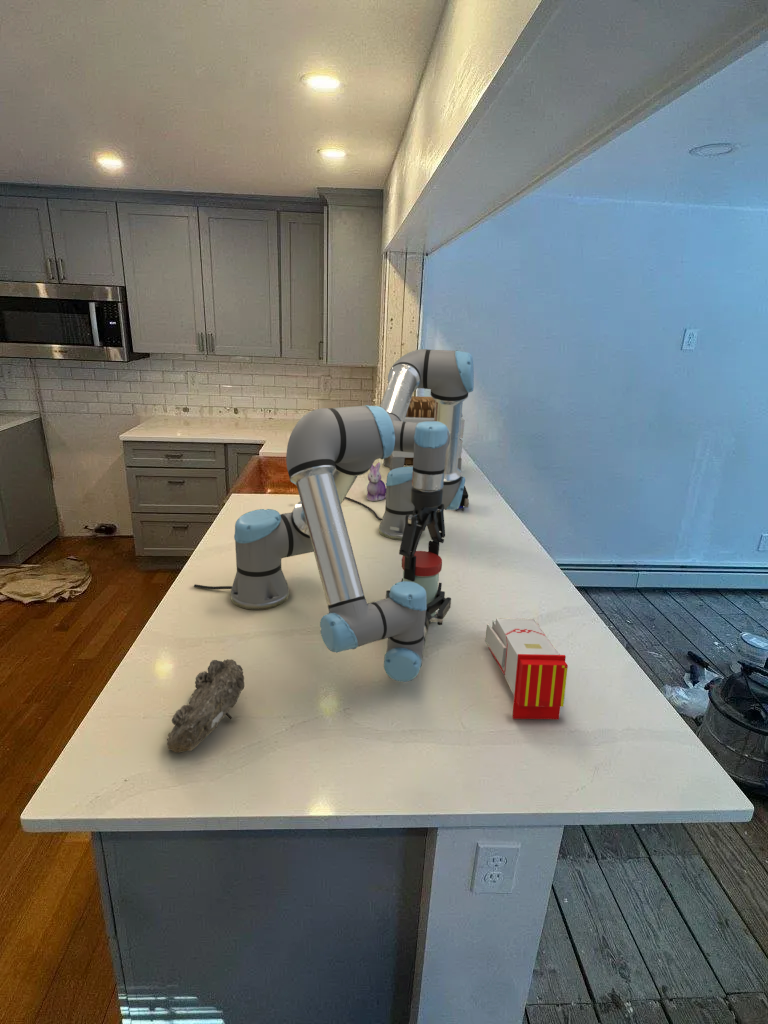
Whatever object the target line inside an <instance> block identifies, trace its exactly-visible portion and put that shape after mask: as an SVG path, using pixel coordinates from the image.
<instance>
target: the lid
mask: <svg viewBox="0 0 768 1024" xmlns="http://www.w3.org/2000/svg"><path fill="white" fill-rule="evenodd" d="M414 556H416V569H415V576H433V575H436V574H438V573H439V574H440V573H441V571H442V568H443V559H442V557H441V556H440V555H439V556H438V555H437V554H434V553H431V552H428V550H427V551H426V550H416V552H415V555H414ZM404 563H405V556H403V555H401V569H402V570H404Z"/></svg>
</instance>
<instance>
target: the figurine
mask: <svg viewBox="0 0 768 1024" xmlns="http://www.w3.org/2000/svg"><path fill="white" fill-rule="evenodd" d="M380 469H381V462H378V463H376V465H375V466H374V463H373V464H372V466H371V468H370V469H369V473H368V475H367V480H368V481H369V482H368V483H367V485H366V492H367V493H366V495H365V496H366V499H367V501H371V502H378V501H383V500H384V499H386V483H385V482H384V481H383V480H382V475H381V473H380Z"/></svg>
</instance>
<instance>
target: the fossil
mask: <svg viewBox="0 0 768 1024" xmlns="http://www.w3.org/2000/svg"><path fill="white" fill-rule="evenodd" d="M243 670H244V669H243V667H242V665H240V664H237V662H236V661H235V660H234V659H232V658H231V659H227V658H226V659H224V660H223V661H222V660H217V659H212V660H211V661H210V663H209V665H208V666H207V671H201V672H199V673H198V674H197V675H196V676H195V680H194V684H195V685H194V687H195V689H194V690H193V693H192V694H191V697H190V698H189V700H188V704H184V705H182V706H181V707H180V709H177V710H176V711H175V713H174V715H173V716H172V718H171V723H172V724H173V727H172V730H171V731H170V732H168V734H167V738H166V741H167V742H166V745H167V749H168V750H169V751H173V752H174V753H176V754H178V753H182V752H188V751H189V752H192V751H193V750H195V748H196V747H197V746H199V744H200V743H201V742H203V741H204V740H205V739H206V738H207V737H208V736H209V735H210V734H211V733H212V732H214V730H215V729H217V727H218V726H219V724H220V722H221V721H222V720H223V719H224V718H225V716H226V717H227V719H229V720H233V717H232V715H230V714H229V710H230V709H231V708H234V706H235V704H236V703H237V702H238V699H239V697H240V695H241V693H242V691H243V690H245V689H244V688H245V675H244V671H243Z"/></svg>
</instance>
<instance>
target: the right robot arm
mask: <svg viewBox="0 0 768 1024" xmlns="http://www.w3.org/2000/svg"><path fill="white" fill-rule="evenodd" d="M474 379H475V371H474V359H473V355H472V354H471V353H470V352H468V351H460V350H451V349H450V350H449V349H448V350H447V349H427V348H420V349H414V350H412V351H410V352H407V353H405V354H404V355H402V356H401V357H399V359H397V360H396V361H395V362H394V363H393V364H392V366H391V367H390V369H389V372H388V374H387V386H386V389H385V391H384V393H383V397H382V399H381V401H380V404H379V405H378V406H379V407H382V408H383V409H384V410H385V411H386V412H387V413H388V415H389V416H390V418H391V421H392V423H393V427H394V433H395V446H394V450H393V451H401V452H411V453H414V459H413V466H404V467H400V468H396V469H393V470H391V471H390V470H389V472H388V473H387V475H386V482H385V486H386V496H385V504H384V505H385V507H384V508H385V509H384V513H383V515H382V517H379V516H378V514H377V513H376V511H375V510H373V509H372V508H371V507H369V506H368V505H366V504H364V503H362V502H360V501H358V500H355V499H353V498H350V497H347V496H346V497H345V498H344V500H347V501H348V500H349V501H351V502H354V503H356V504H358V505H360V506H362V507H364V508H365V509H368V510H369V511H370V512H372V513H373V514H374V516H375V518H377V520H379V521H381V522H379V525H378V533H379V534H380V535H381V536H382V537H385V538H387V539H389V540H395V541H401V542H400V548H399V551H398V554H399V555H400V556H405V563H404V579H407V580H410V581H415V569H416V556H414V555H415V552H416V551H417V548H418V547H419V544H420V541H421V538H422V535H423V532H424V531H426V529H427V531H428V533H429V537H430V539H431V540H429V541H428V549H427V552H431V553H434V554H437V555H438V556H440V544H443V543H444V542H445V537H446V526H445V514H444V512H445V511H448V510H449V511H456V509H457V510H458V509H460V508H459V506H460V503H461V499H462V494H463V489H464V486H466V485H465V484H466V477H465V476H463V475H462V470H461V471H460V470H459V469H458V468H457V467H458V454H459V442H460V439H461V438H460V429H461V418H462V417H463V402H464V401H466V400H467V399H468V398H469V393H472V392H473V391H474V388H475V381H474ZM418 389H424V390H430V397H432V398H433V399H434V400H435V411H434V421H433V422H430V421H427V422H420V423H415V422H404V420H405V417H406V414H407V410H408V407H409V404H410V401H411V398H412V396H413V395H414V392H415V391H417V390H418ZM461 416H462V417H461Z"/></svg>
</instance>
